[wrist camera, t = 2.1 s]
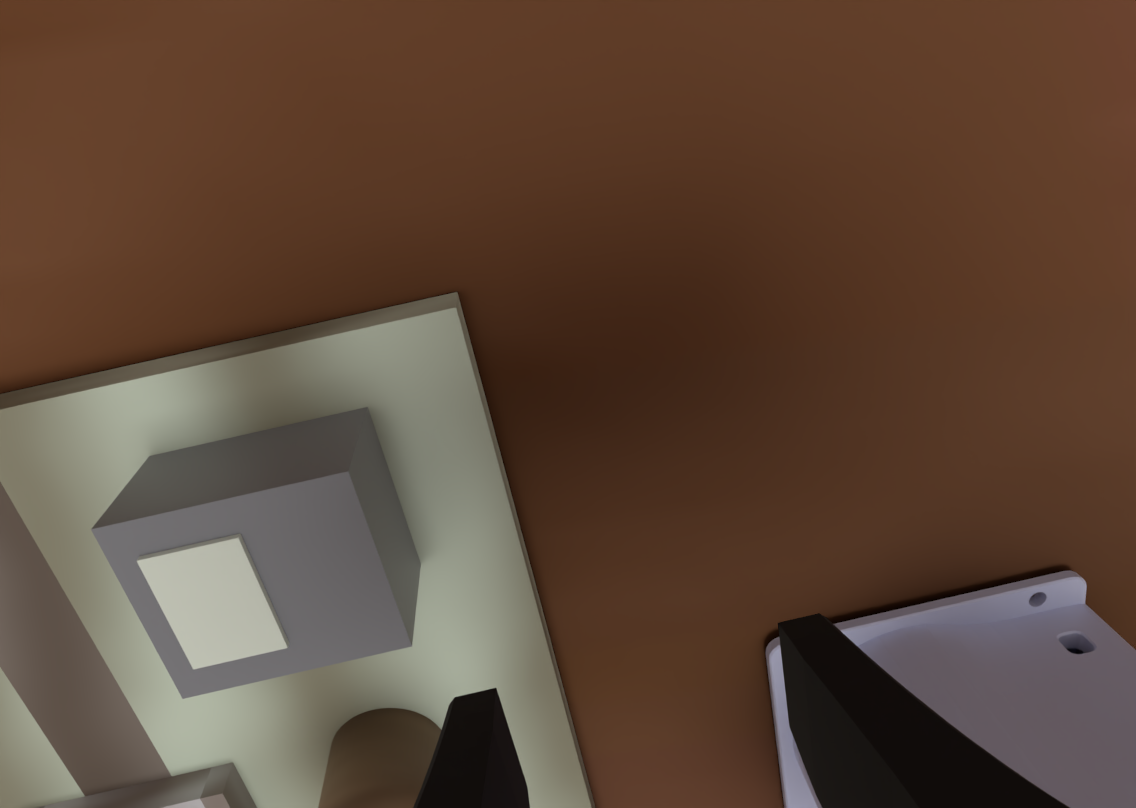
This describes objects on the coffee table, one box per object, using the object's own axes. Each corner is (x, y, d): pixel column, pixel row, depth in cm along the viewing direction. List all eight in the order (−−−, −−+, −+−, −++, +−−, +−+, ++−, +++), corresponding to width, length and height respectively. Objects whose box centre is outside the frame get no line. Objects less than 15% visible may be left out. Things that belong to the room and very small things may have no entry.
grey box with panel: (367, 407, 18) (346, 475, 15) (421, 563, 20) (411, 650, 17) (149, 455, 18) (87, 534, 15) (223, 609, 20) (180, 704, 17)
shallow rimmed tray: (457, 291, 18) (454, 321, 16) (609, 858, 27) (619, 923, 25) (-233, 446, 18) (-319, 495, 16) (138, 967, 27) (111, 1042, 25)
